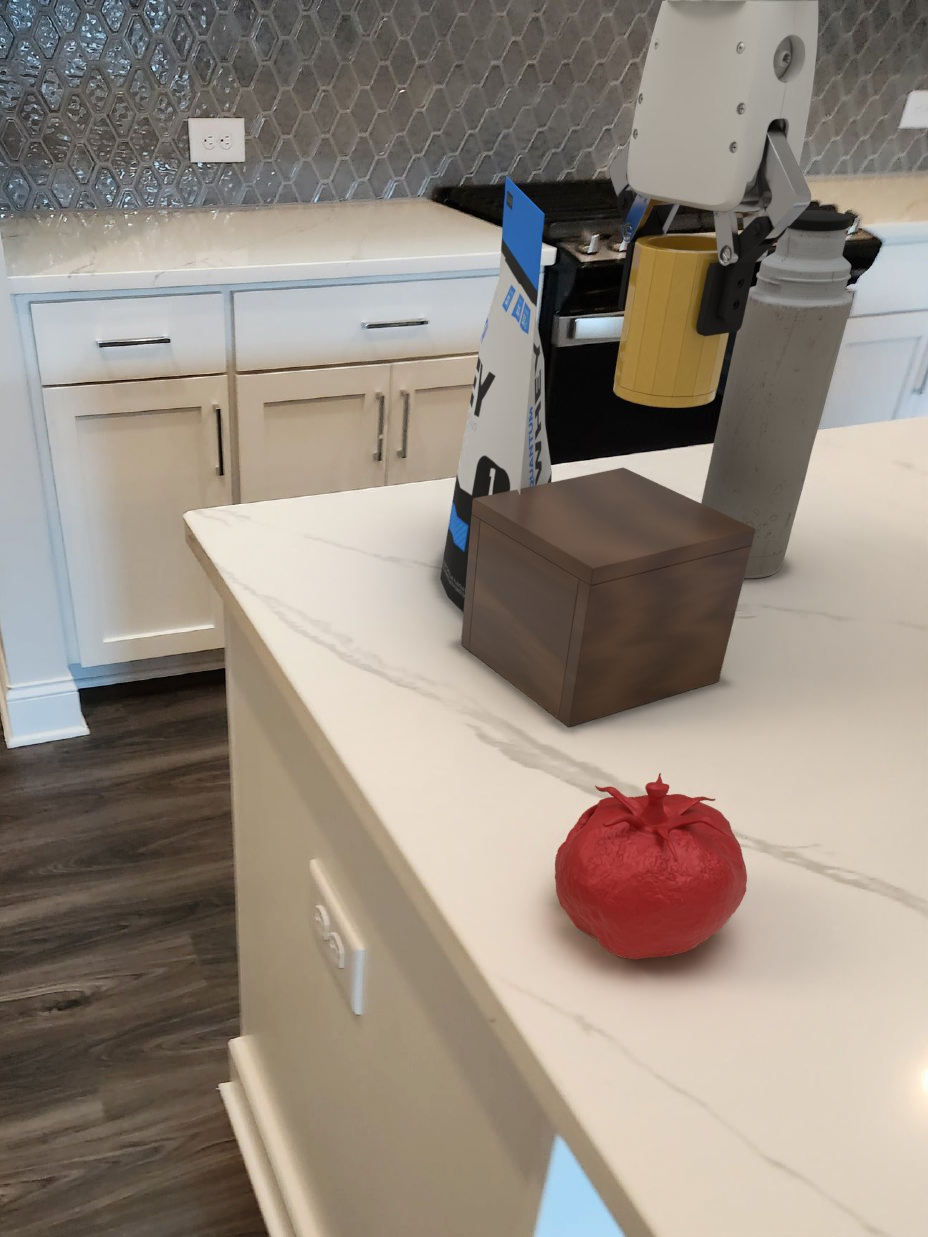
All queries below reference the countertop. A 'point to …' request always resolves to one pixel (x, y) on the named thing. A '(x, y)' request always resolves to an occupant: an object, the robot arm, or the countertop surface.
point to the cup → (668, 325)
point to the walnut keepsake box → (602, 591)
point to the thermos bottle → (780, 384)
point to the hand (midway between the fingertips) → (677, 317)
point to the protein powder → (503, 390)
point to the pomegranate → (650, 872)
